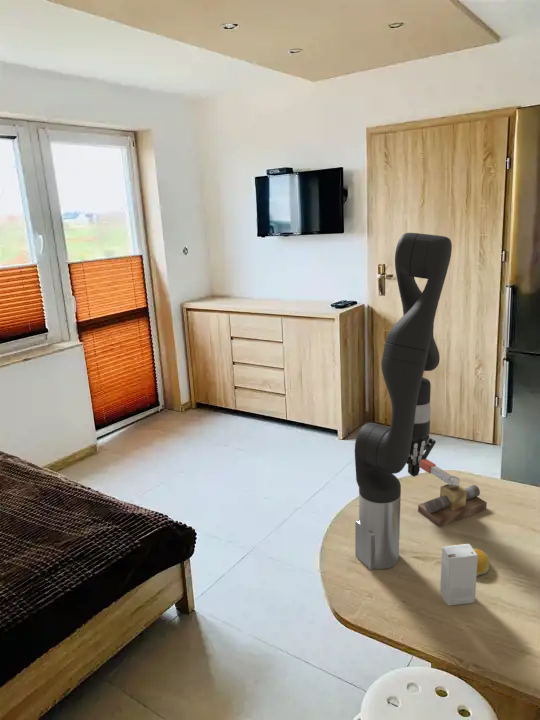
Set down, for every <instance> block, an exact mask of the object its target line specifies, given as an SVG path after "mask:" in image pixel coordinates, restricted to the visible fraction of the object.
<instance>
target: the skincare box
mask: <svg viewBox="0 0 540 720" xmlns="http://www.w3.org/2000/svg"><path fill="white" fill-rule="evenodd" d="M460 544H461V545H458V544H454V545H445V546H442V547H441V567H440V568H441V569H440V584H439V585H440V586H439V587H440V588H439V592H440V594H441V597H442V599H443V601H444V602H445V604H446V606H447V607H448V606H449V607H450V606H456V605H465V604H466V605H467V604H473V603H476V601H475V599H476V588H477V587H476V586H477V577H478V576H477V560H478V555H477V554H476V552H475V551H474V550H473V549H474V548H473V546H472V545H471V544H470V543H460Z"/></svg>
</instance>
